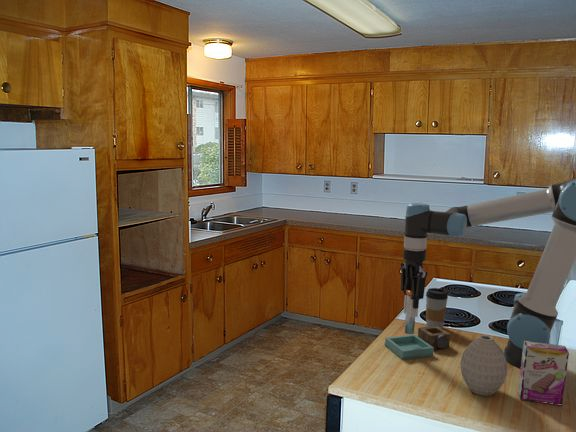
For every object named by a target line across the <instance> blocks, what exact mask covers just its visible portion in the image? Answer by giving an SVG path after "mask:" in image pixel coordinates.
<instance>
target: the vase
mask: <svg viewBox="0 0 576 432" xmlns="http://www.w3.org/2000/svg"><path fill="white" fill-rule="evenodd" d="M460 372H461V376H462V379H463V381H464V383H465V384H466V386H467V387H468V389H469V390H470V391H471V392H472V393H474V394H476V395H480V396H482V397H484V396H491V395H493V394H495V393H496V392H498V391H499V389H501V387H503V385H504V384H505V381H506V379H507V375H508V362H507V361H506V358H505V355H504V350H503V349H502V348H501V347H500V345H499V344H498V343H497V342H496V341H495V340H494V337H492V336H490V335H486V334H481V335H479V336H478V338H476V339H474V340H473V341H472V342H471V343H469V344H468V345H467V347H466V348H465V350H463V353H462V355H461V359H460Z"/></svg>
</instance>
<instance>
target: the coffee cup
mask: <svg viewBox="0 0 576 432" xmlns="http://www.w3.org/2000/svg"><path fill="white" fill-rule="evenodd" d="M425 296H426V299H425V300H426V302H425V303H426V304H425V312H426V313H425V316H426V317H425V318H426V325H425V326H426V327H431V326H438V327H440V328H442V329H444V323H445V319H446V312H447V311H446V310H447V301H448V299H449V295H448V291H447V290H445V289H443V288H439V287H438V288H437V287H432V288H431V287H430V288H427V291H426V293H425Z"/></svg>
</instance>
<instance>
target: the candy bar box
mask: <svg viewBox="0 0 576 432" xmlns="http://www.w3.org/2000/svg"><path fill="white" fill-rule="evenodd" d="M569 353H570V352H569V349H568V348H567V346H566V345H560V344H553V343H549V344H546V343H538V342H531V341H524V343H523V352H522V361H521V368H520V370H519V378H518V388H517V392H518V395H519V399H520V400H521V399H522V401H527V400H530V401H529V402H534V401H539V402H538V403H540V402H547V403H553V404H562V405H563V401H564V393H565V386H566V377H567V371H568V369H567V368H568V361H569V355H570V354H569ZM547 403H546V404H547ZM553 404H552V405H553Z"/></svg>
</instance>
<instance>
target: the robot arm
mask: <svg viewBox="0 0 576 432" xmlns="http://www.w3.org/2000/svg"><path fill="white" fill-rule="evenodd" d="M550 213H552V214H551V218H552V220H553V223H554V225H553V226H552V229H551V232H550V234H549V237H548V240H547V242H546V244H545V247H544V249H543V252H542V254H541V256H540V258H539V261H538V264H537V266H536V269H535V271H534V273H533V277H532V279H531V281H530V283H529V286H528V288H527V291H526V292H520V293H517V294H515V295H514V299H513V309H512V313H511V316H510V319H509V320H508V322H507V325H506V331H507V335H508V338H509V339H508V341H507V344H506V346H505V347H504V350H503V353H504V355H505V358H506V361H507V363H509V364H510V365H513V366H514V367H517V368H520V369H521V361H522V352H523V343H524V341H531V342H538V343H546V344H550V337H551V331H552V329H553V327H554V325H555V322H556V319H557V317H558V315H559V312H558V310H557V308H556V306H557V302H558V300H559V298H560V296H561V294H562V291H563V289H564V287H565V284H566V283H567V279H568V278H569V274H570V272H571V270H572V268H573V265H574V262H575V261H576V177H574V178H571V179H568V180H566V181H562V182H559V183H556V184H555V183H554V184H551V185H550V186H549V187H548V188H546V189H540V190H536V191H530V192H527V193H521V194H516V195H512V196H507V197H502V198H496V199H491V200H487V201H482V202H481V201H480V202H478V203H477V202H476V203H473V204H472V203H471V204H468V205H463V206H453V207H451V208H448V210H446V211H436V210H431V209H430V205H429V204H428V203H422V202H411V203H408V204H407V206H406V212H405V217H404V219H405V220H404V221H405V222H404V236H403V237H404V239H403V247H404V249H403V252H402V253H403V254H402V258H403V260H405V262H401V263H400V270H401V271H400V272H401V275H400V291H401V292H403V295H404V296H403V297H404V300H403V314H406V302H407V294H406V290H407V289H412V297H411V301H410V315H409V317H415V318H416V317H417V318H418V316H419V315H418V314H419V306H420V305H419V304H420V300H423V299H424V297H425V290H426V289H425V287H426V282H427V281H426V280H427V279H426V278H427V276H428V271H424V269H423V268H424V266H423V263H424V262H425V261H426V259H427V250H426V249H427V243H428V234H433V235H434V234H435V235H444V236H450V237H459V238H460V237H463V236H465V234H466V232H467V228H471V227H476V226H482V225H488V224H493V223H498V222H505V221H510V220H517V219H521V218H528V217H534V216H537V215H538V216H539V215H544V214H550Z"/></svg>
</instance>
